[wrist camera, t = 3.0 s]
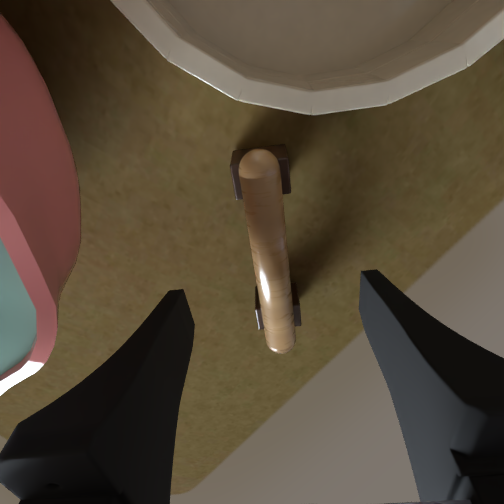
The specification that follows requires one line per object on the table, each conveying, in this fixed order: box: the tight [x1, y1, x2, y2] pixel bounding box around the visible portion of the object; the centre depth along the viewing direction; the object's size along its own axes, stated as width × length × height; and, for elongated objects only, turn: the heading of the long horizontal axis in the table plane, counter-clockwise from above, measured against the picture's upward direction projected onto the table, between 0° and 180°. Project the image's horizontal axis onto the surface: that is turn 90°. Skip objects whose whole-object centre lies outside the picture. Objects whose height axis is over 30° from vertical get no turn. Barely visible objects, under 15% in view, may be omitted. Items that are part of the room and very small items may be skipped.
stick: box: [239, 149, 296, 353], centre depth 16 cm, size 11×2×2 cm, turn 8°
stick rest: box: [230, 144, 301, 329], centre depth 17 cm, size 10×2×2 cm, turn 8°
